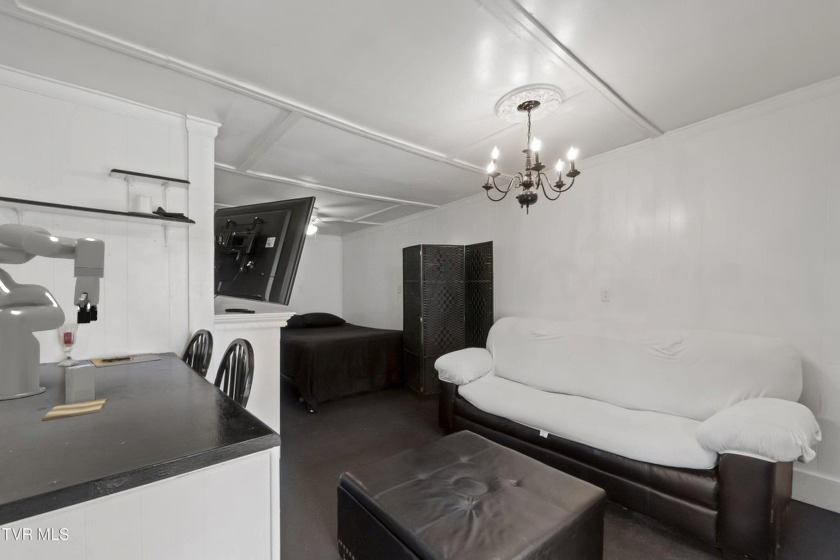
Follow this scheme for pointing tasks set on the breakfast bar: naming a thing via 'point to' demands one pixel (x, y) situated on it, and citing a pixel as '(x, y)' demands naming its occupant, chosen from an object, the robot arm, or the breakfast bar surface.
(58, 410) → the brass plate
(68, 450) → the breakfast bar surface
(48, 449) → the breakfast bar surface
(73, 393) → the skincare box
